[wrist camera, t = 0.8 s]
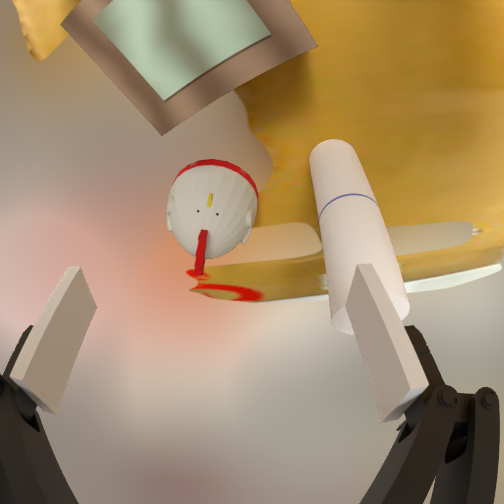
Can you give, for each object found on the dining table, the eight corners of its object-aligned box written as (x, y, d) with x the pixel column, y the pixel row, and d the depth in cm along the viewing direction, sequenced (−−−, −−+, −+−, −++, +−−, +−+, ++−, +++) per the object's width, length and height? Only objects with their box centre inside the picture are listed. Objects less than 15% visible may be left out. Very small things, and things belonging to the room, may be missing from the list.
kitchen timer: (266, 168, 42) (263, 243, 32) (249, 232, 53) (243, 306, 43) (173, 153, 41) (139, 223, 31) (172, 220, 51) (149, 291, 41)
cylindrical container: (343, 131, 37) (400, 283, 20) (364, 168, 41) (415, 319, 24) (299, 153, 40) (317, 312, 24) (323, 187, 44) (348, 341, 28)
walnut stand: (221, -73, 16) (204, -96, 9) (306, 35, 27) (318, 47, 21) (104, 13, 24) (58, 25, 17) (184, 104, 35) (161, 137, 28)
